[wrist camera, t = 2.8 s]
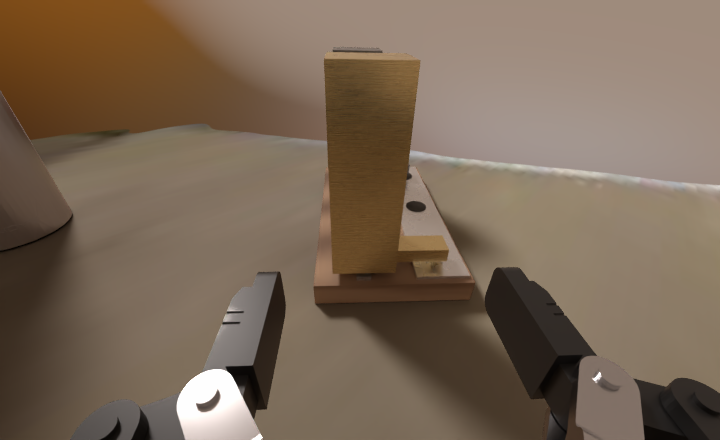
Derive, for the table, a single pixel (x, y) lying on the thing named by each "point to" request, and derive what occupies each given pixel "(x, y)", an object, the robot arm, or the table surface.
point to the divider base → (410, 276)
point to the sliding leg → (372, 161)
